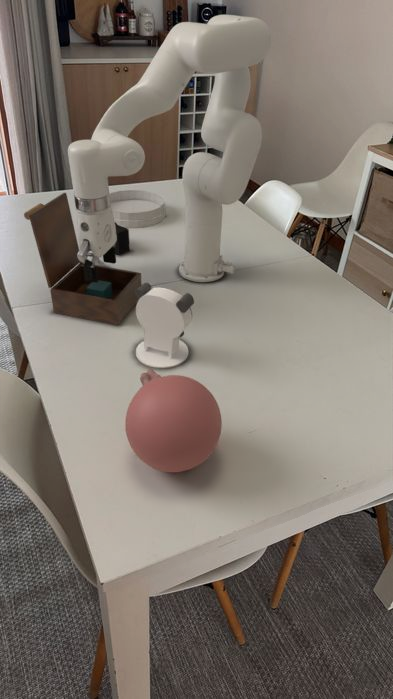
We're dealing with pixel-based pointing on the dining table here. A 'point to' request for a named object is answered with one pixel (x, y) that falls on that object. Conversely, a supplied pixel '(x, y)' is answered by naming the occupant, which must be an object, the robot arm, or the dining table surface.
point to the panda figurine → (162, 325)
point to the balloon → (172, 422)
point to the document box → (76, 302)
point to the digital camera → (121, 240)
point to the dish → (137, 208)
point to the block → (100, 289)
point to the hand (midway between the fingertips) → (101, 271)
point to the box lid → (54, 237)
